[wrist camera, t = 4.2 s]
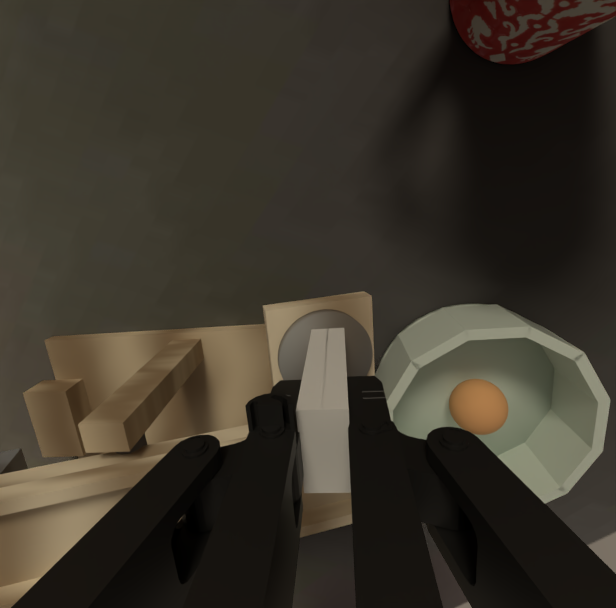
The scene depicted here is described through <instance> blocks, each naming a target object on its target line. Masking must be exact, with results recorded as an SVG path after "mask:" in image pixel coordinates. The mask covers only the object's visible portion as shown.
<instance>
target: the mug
mask: <svg viewBox="0 0 616 608" xmlns="http://www.w3.org/2000/svg"><path fill="white" fill-rule="evenodd" d="M450 7H451V13H452V17H453V21H454V23H455V26H456V28H457V30H458V33H459V34H460V36H461V38H462V39H463V40H464V42H465V43H466V44H467V45H468V47H469V48H470V49H471V50H473V51H474V52H475V53H476V54H478V55H479V56H481V57H483V58H484V59H487V60H489V61H492V62H496V63H500V64H521V63H525V62H529V61H532V60H535V59H537V58H540V57H542V56H544V55H546V54H548V53H550V52H552V51H554V50H556V49H557V48H559V47H561V46H563V45H564V44H566V43H568V42H570V41H572V40H574V39H575V38H577V37H579V36H581V35H583V34H585V33H586V32H588V31H590V30H592V29H594V28H595V27H597V26H599V25H601V24H603V23H605V22H606V21H608V20H610V19H612V18H614V17H616V0H450Z"/></svg>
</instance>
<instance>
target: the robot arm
mask: <svg viewBox="0 0 616 608" xmlns="http://www.w3.org/2000/svg"><path fill="white" fill-rule="evenodd" d="M245 407H246V414H247V421H248V429H249V433H248V435H247V438H246V439H245V440H243V441H241V442H238V443H235V444H231V445H227V446H222V447H220V441H219V440H218V439H217V438H216V437H214V436H211V435H196V436H192V437H189V438H187V439H185V440H183V441H181V442H180V443H178V444H177V445H176V446H174V447H173V448H172V449H171V450H170V451H169V452H168V453H167V454H166V455H165V456H164V457H163V458H162V459H161V460H160V461H159V462H158V463H157V464H156V465H155V466H154V467H153V468H152V469H151V470H150V471H149V472H148V473H147V474H146V475H145V476H144V477H143V478H142V479H141V480H140V481H139V482H138V483H137V484H136V485H135V486H134V487H133V488H132V489H131V490H130V491H129V492H128V493H127V494H126V495H125V496H124V497H123V498H122V499H121V500H120V501H119V502H118V503H116V504H115V505H114V506H113V507H112V508H111V509H110V510H109V511H108V512H107V513H106V514H105V515H104V516H103V517H102V518H101V519H100V520H99V521H98V522H97V523H96V524H95V525H94V526H93V527H92V528H91V529H90V530H89V531H88V532H87V533H86V534H85V535H84V536H83V537H82V538H81V539H80V540H79V541H78V542H77V543H76V544H75V545H74V546H73V547H72V548H71V549H70V550H69V551H68V552H67V553H66V554H65V555H64V556H63V557H62V558H61V559H60V560H59V561H58V562H57V563H56V564H55V565H54V566H53V567H52V568H51V569H50V570H49V571H48V572H47V573H46V574H45V575H43V576H42V577H41V578H40V579H39V580H38V581H37V582H36V583H35V584H34V585H33V586H32V587H31V588H30V589H29V590H28V591H27V592H26V593H25V594H24V595H23V596H22V597H21V598H20V599H19V600H18V601H17V602H16V603H15V604H14V605H13V606H12V607H11V608H292V604H293V595H294V586H295V577H296V568H297V559H298V550H299V541H300V532H301V523H302V513H303V501H302V486H303V487H304V493H351V506H352V528H353V549H354V571H355V593H356V608H443V606H442V602H441V598H440V594H439V590H438V586H437V583H436V579H435V575H434V571H433V567H432V563H431V559H430V555H429V551H428V548H427V544H426V540H425V536H424V532H423V528H422V524H421V522H424V523H426V525H427V528H428V531H429V533H430V535H431V536H432V538H433V540H434V542H435V544H436V545H437V547H438V549H439V551H440V552H441V554H442V556H443V558H444V559H445V561H446V563H447V565H448V566H449V568H450V570H451V572H452V573H453V575H454V577H455V579H456V580H457V582H458V584H459V586H460V588H461V589H462V591H463V593H464V595H465V596H466V598H467V600H468V602H469V603H470V605H471V607H472V608H616V574H615V573H614V572H613V571H612V570H611V569H610V568H609V567H608V566H607V565H606V564H605V563H604V562H603V561H602V560H601V559H600V558H599V557H598V556H597V555H596V554H595V553H594V552H593V551H592V550H591V549H590V548H589V547H588V546H587V545H586V544H585V543H584V542H583V541H582V540H581V539H580V538H579V537H578V536H577V535H576V534H575V533H574V532H573V531H572V530H571V529H570V528H569V527H568V526H567V525H566V524H565V523H564V522H563V521H562V520H561V519H560V518H559V517H558V516H557V515H556V514H555V513H554V512H553V511H552V510H551V509H550V508H549V507H548V506H547V505H546V504H545V503H544V502H543V501H542V500H541V499H540V498H539V497H538V496H537V495H535V494H534V493H533V492H532V491H531V490H530V489H529V488H528V487H527V486H526V485H525V484H524V483H523V482H522V481H521V480H520V479H519V478H518V477H517V476H516V475H515V474H514V473H513V472H512V471H511V470H510V469H509V468H508V467H507V466H506V465H505V464H504V463H503V462H502V461H501V460H500V459H499V458H498V457H497V456H496V455H495V454H494V453H493V452H492V451H491V450H490V449H489V448H488V447H487V446H486V445H485V444H484V443H483V442H482V441H481V440H480V439H479V438H478V437H477V436H475V435H474V434H472V433H471V432H469V431H466V430H464V429H461V428H456V427H440V428H437V429H434V430H432V431H431V432H430V433H429V434H428V435H427V439H426V440H424V439H419V438H414V437H410V436H407V435H405V434H403V433H401V432H400V431H398V430H397V427H396V426H395V424H394V422H393V421H391V418H390V413H389V409H388V405H387V401H386V398H385V393H384V389H383V384H382V382H381V381H380V380H379V379H378V378H377V377H376V376H352V377H347V366H346V349H345V332H344V328H329V329H312V330H311V335H310V340H309V345H308V350H307V356H306V361H305V366H304V371H303V376H302V380H280V381H279V382H278V383H277V384H276V385H274V386H273V387H272V390H271V393H268V394H263V395H260V396H257V397H255V398H253V399H251V400H250V401H249V402H248V403H247V404H246V405H245ZM181 517H182V518H181ZM179 520H180V521H179ZM178 521H179V522H178Z"/></svg>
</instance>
